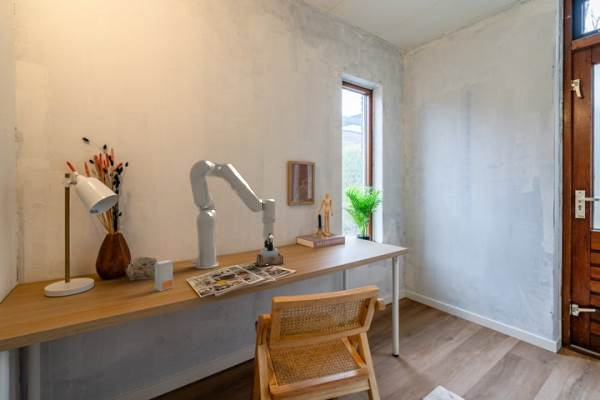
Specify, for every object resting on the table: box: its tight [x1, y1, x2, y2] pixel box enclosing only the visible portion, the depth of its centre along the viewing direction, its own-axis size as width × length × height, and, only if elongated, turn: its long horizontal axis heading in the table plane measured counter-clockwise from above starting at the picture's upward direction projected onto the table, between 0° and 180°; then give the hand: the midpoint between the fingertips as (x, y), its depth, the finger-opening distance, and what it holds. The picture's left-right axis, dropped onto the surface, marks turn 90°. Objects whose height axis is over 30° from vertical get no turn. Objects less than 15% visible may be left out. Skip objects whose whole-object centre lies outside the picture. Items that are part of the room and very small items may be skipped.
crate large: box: [256, 252, 284, 266], centre depth 161 cm, size 14×10×4 cm
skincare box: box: [154, 259, 174, 292], centre depth 120 cm, size 6×4×12 cm
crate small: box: [260, 248, 279, 258], centre depth 161 cm, size 9×6×7 cm
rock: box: [125, 256, 158, 282], centre depth 140 cm, size 21×14×10 cm
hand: (268, 249), depth 161 cm, fingers open, 9 cm apart
